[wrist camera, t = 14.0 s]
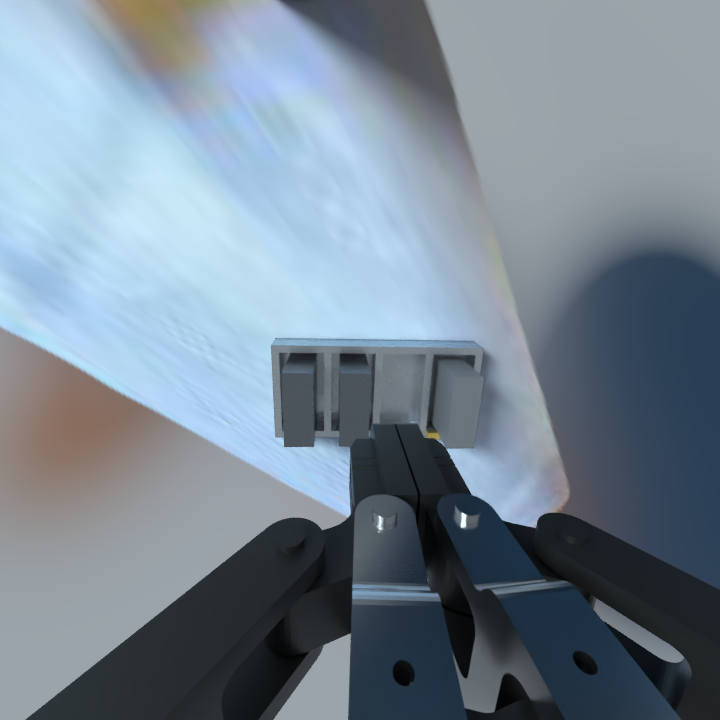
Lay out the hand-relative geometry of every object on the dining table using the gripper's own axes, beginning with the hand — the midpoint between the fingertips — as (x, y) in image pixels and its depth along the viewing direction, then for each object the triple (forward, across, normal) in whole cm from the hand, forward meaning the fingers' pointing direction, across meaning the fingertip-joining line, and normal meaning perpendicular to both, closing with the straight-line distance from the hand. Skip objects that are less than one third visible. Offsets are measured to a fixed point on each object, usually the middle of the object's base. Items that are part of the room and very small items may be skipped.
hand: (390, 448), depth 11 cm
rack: (+29, -3, +9) cm, 31 cm away
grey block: (+28, -12, +9) cm, 32 cm away
